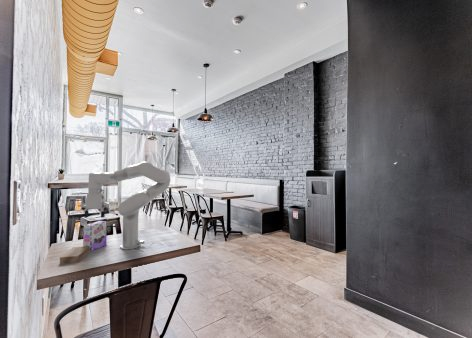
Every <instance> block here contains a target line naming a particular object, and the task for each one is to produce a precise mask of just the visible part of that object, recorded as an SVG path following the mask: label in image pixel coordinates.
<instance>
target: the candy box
mask: <svg viewBox="0 0 472 338" xmlns="http://www.w3.org/2000/svg"><path fill="white" fill-rule="evenodd" d="M82 228H83V231H82V233H83V235H82V236H83V238H82V241H83V244H82V247H84V246H89V253H90V252H91V253H92V252H93V251H95V250H98V249H99V248H102V247H105V246H107V221H106V220H97V221H95V222H91V223H88V224H83V227H82Z"/></svg>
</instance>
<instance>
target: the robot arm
mask: <svg viewBox="0 0 472 338" xmlns="http://www.w3.org/2000/svg"><path fill="white" fill-rule="evenodd" d="M142 176H143V177H145V178H147V179H149V180H151V181H153V182H154V183H153V184H151V185H150V186H147V188H145V189H143V190H141V191H137V192H136V193H135V194H133V195H131V196H130V197H128V198H126V199H125V200H124V201H122V202H121V203H119V206H118V208H117V212H118V214H119V215H121V216H122V244H120V245H119V249H121V250H134V249H137V248H140V247H141V245H142V244H143V245H145V244H146V243H145V242H146V241H145V240H144V239H140V238H139V214H140V209H142V208H143V207H145V206H147V205H148V204H149V203H150V202H152V201H153V200H154V199H156V198H157V197H159V196H160V195H161V194H163V193H165V191H166V190H167V189H168V188H169V186H170V185H171V184H170V182H171V175H170V173H169V172H168V171H167V170H165V169H160V168H159V167H157V166H155V165H153V163H152V162H149V161H142V162H140V163H137V164H133V165H128V166H126V167H124V168H122V169H119V170H116V171H107V172H89V173H88V189H87V191H88V193H87V194H86V199H85V202H83V203H81V204H80V205H79V206H80V208H81V209H82V211H83V212H84V219H86V218H88V217H89V215H90V214H89V213H90V212H89V210H95V209H96V210H101V211H100V218H102V219H103V218H104V217H105V215H106V212H105V211H106V210H108V208H109V206H110V204H109V203H107V202H105V196H104V193H103V192H105V190H104V189H103V185H109V184H114V183H118V182H122V181H127V180H132V179H136V178H140V177H142Z"/></svg>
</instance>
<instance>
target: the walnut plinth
mask: <svg viewBox="0 0 472 338" xmlns="http://www.w3.org/2000/svg"><path fill="white" fill-rule="evenodd" d="M89 253H90V251H89V246H84V247H83V246H73V247H72V248H70V249H69V250H68V251H66V252H65V253H64V254H62V255H61V256H60V257H59V264H60V265H62V264H63V265H64V264H75V263H77V264H78V263H79V262H81V260H83V259H84V258H85V256H87V255H88V254H89Z"/></svg>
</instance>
